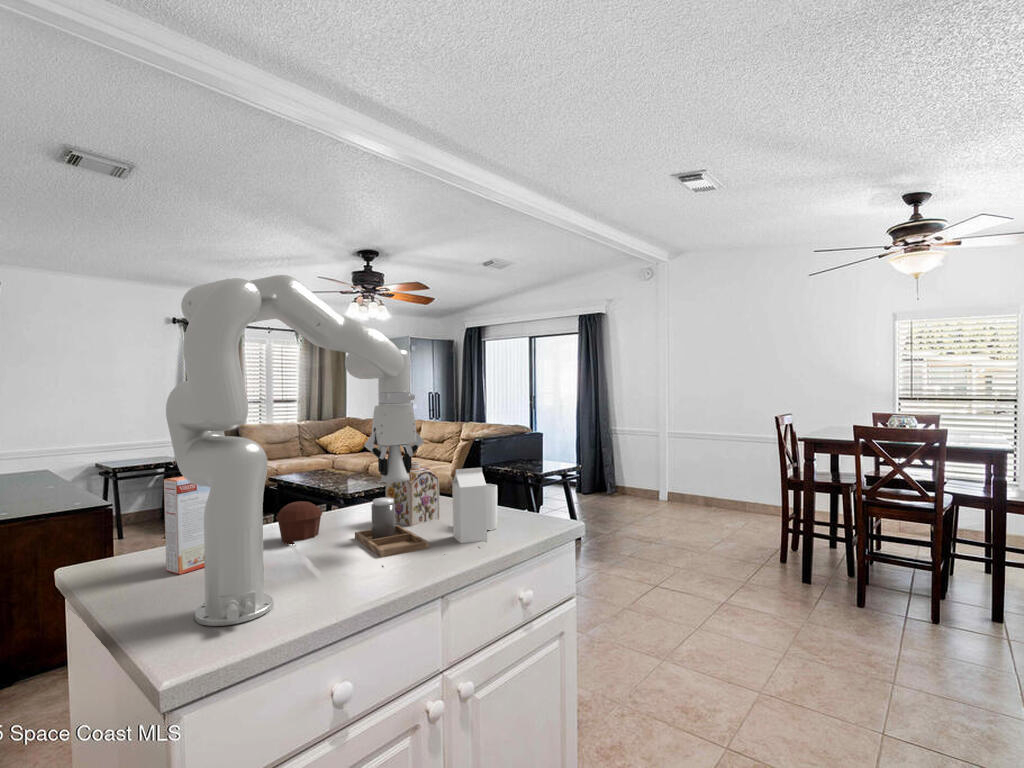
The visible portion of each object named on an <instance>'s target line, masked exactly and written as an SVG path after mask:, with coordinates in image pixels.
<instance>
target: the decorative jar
mask: <svg viewBox="0 0 1024 768" xmlns="http://www.w3.org/2000/svg"><path fill="white" fill-rule="evenodd" d="M411 463H412V468H411V469H410V473H408V475H409V477H410V479H409V480H407V481H403V482H392V483H390V482H385V498H393V499H394V503H395V524H398V525H399V524H401V525H405V526H409V527H413V526H417V525H420V524H424V523H428V522H430V521H431V522H432V521H434V520H437V521H438V520H439V521H440V513H441V511H440V509H441V507H440V479H439V477H440V476H438V474H437V473H436V472H435V471H434V470H433V469H432V468H431V467H423V466H421V463H420V461H411Z"/></svg>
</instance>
